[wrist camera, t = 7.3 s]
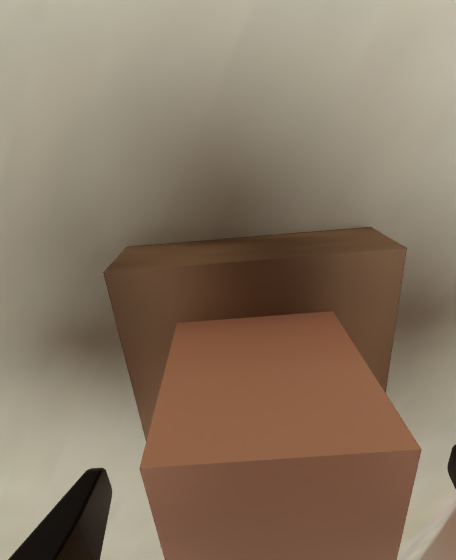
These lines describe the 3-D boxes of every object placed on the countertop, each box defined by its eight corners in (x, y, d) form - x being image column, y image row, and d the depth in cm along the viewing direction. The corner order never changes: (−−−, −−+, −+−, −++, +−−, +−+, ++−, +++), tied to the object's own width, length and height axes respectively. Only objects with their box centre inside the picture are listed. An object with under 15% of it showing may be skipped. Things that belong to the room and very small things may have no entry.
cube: (195, 435, 12) (178, 610, 8) (176, 322, 10) (139, 468, 6) (326, 426, 12) (388, 597, 8) (332, 311, 10) (421, 449, 6)
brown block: (165, 425, 15) (154, 474, 13) (126, 247, 12) (103, 272, 10) (352, 412, 15) (375, 460, 13) (370, 227, 12) (406, 248, 9)
